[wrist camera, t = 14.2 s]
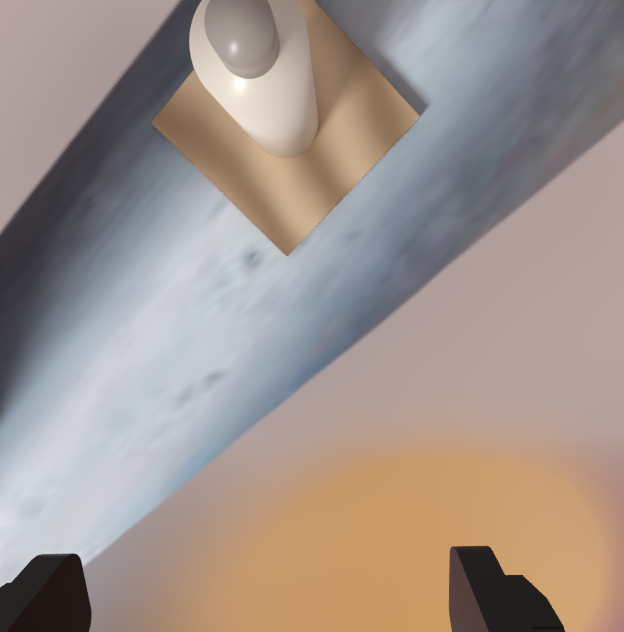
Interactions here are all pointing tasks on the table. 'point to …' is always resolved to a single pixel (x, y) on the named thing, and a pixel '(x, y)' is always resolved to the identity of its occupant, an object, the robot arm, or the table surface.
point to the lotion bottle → (258, 69)
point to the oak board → (313, 164)
